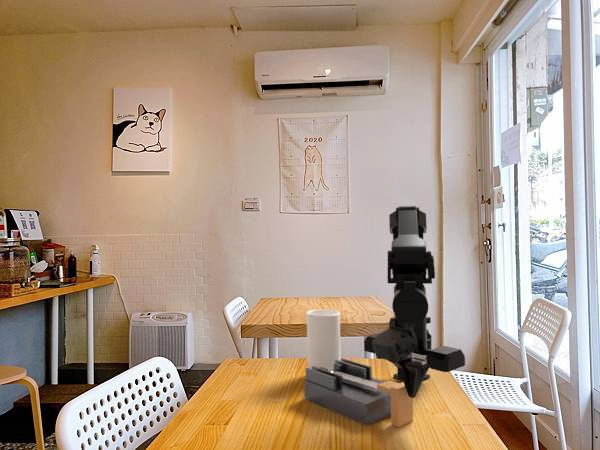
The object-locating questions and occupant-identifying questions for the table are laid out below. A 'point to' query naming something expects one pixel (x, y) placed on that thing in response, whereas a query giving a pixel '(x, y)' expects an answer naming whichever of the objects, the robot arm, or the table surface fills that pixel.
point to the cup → (323, 338)
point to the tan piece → (398, 403)
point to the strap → (358, 381)
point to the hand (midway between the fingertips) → (412, 397)
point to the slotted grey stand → (347, 392)
